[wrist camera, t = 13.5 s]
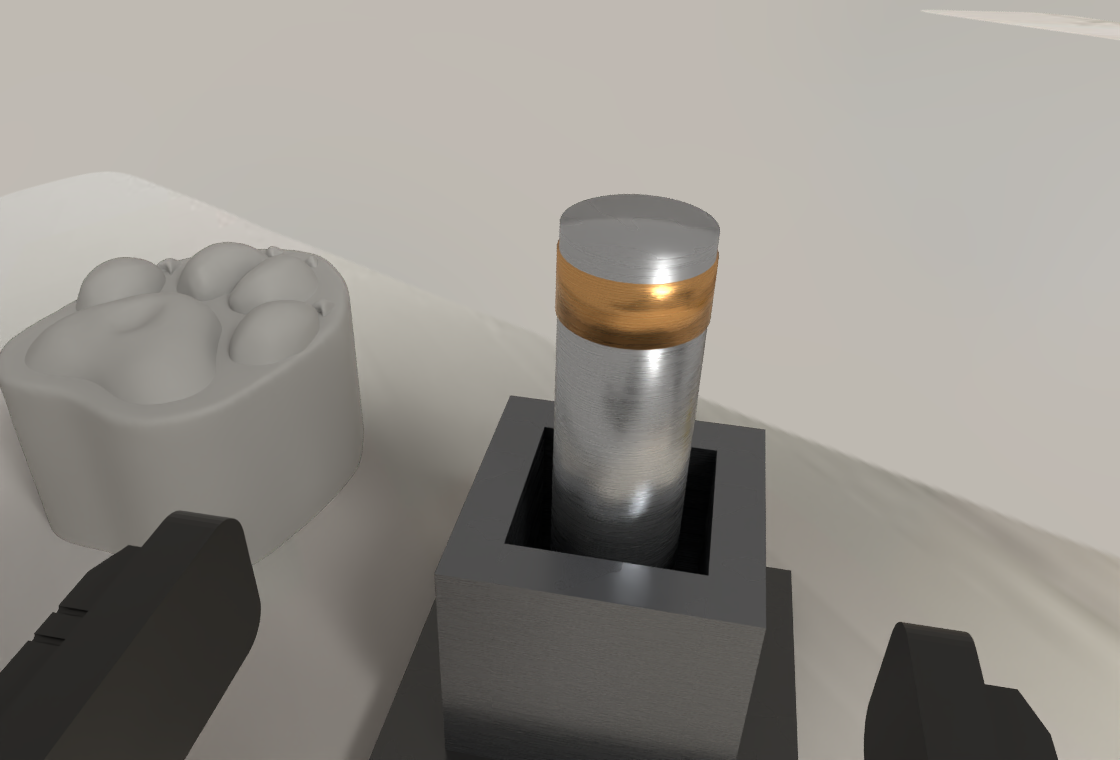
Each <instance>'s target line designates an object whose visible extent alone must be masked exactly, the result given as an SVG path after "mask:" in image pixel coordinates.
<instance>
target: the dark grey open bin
mask: <svg viewBox="0 0 1120 760" xmlns="http://www.w3.org/2000/svg"><path fill="white" fill-rule="evenodd" d="M554 408H555V401H547V400H540V399H532V398H525V397H517V396H510V398H509V400H508V402H507V405H506V407H505V409H504V412H503V414H502V416H501V419H500V421H499V424H498V426H497V428H496V431H495V433H494V435H493V438H492V440H491V442H490V445H489V447H488V449H487V452H486V454H485V456H484V459H483V461H482V463H481V466H480V468H479V470H478V473H477V475H476V478H475V480H474V482H473V485H472V487H471V489H470V492H469V494H468V496H467V499H466V501H465V503H464V506H463V508H462V510H461V513H460V515H459V517H458V520H457V522H456V524H455V527H454V529H453V532H452V534H451V536H450V539H449V541H448V543H447V546H446V548H445V550H444V553H443V555H442V557H441V560H440V562H439V564H438V567H437V569H436V571H435V589H436V599H435V601H434V604H433V606H432V608H431V611H430V613H429V616H428V618H427V621H426V623H425V625H424V628H423V630H422V633H421V635H420V638H419V640H418V642H417V645H416V647H415V650H414V652H413V655H412V657H411V659H410V662H409V664H408V667H407V669H406V672H405V674H404V676H403V679H402V681H401V684H400V686H399V689H398V691H397V693H396V696H395V698H394V701H393V703H392V706H391V708H390V710H389V713H388V715H387V718H386V720H385V723H384V725H383V728H382V730H381V732H380V735H379V737H378V740H377V742H376V745H375V747H374V749H373V752H372V754H371V757H370V759H369V760H798V745H797V719H796V692H795V665H794V639H793V612H792V585H791V571H790V570H783V569H777V568H770V567H766V499H765V430H764V429H756V428H749V427H741V426H734V425H726V424H719V423H711V422H704V421H696V420H695V422H694V430H693V437H692V445H691V452H690V460H689V467H688V475H687V482H686V489H685V497H684V504H683V512H682V519H681V527H680V534H679V542H678V549H677V557H676V564H675V570H669V569H662V568H656V567H650V566H643V565H637V564H631V563H624V562H618V561H612V560H605V559H599V558H593V557H586V556H580V555H574V554H567V553H561V552H555V551H550V547H551V513H552V478H553V443H554Z"/></svg>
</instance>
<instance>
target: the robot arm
mask: <svg viewBox="0 0 1120 760" xmlns="http://www.w3.org/2000/svg"><path fill="white" fill-rule="evenodd" d="M260 614H261V604H260V598H259V594H258V589H257V585H256V581H255V577H254V572H253V568H252V564H251V560H250V556H249V551H248V547H247V543H246V539H245V535H244V531H243V528H242V525H241V524H240V522H239V521H238V520H236V519H234V518H228V517H221V516H215V515H208V514H201V513H195V512H188V511H181V510H179V511H175V512H173V513H171V514H170V515H168V516H167V517H166V518H165V519H164V520H163V522H162V523H161V524H160V525H159V526H158V528H157V529H156V530H155V531H154V532H153V534H152V535H151V536H150V537H149V538H148V540H147V541H146V542H145V543H144V544H143V546H142V547H138V546H132V545H128V546H126V547H125V548H123V549H122V550H120V551H119V552H117V553H116V554H114V555H113V556H111V557H109V558H108V559H106V560H105V561H103V562H102V563H100V564H99V565H97V566H96V567H94V568H93V569H91V570H90V571H88V572H87V574H86V575H85V576H84V577H83V578H82V579H81V580H80V582H79V583H78V584H77V585H76V586H75V587H74V588H73V590H72V591H71V592H70V593H69V594H68V595H67V597H66V598H65V599H64V600H63V601H62V602H61V603H60V605H59V609H58V611H57V613H54V612H53V613H52V614H51V615H50V616H49V617H48V618H47V620H46V621H45V622H44V623H43V624H42V625H41V626H40V628H39V629H38V630H37V631H36V632H35V633H34V634H35V637H34V639H33V640H32V641H27V643H26V644H25V645H24V646H23V647H22V648H21V649H20V651H19V652H18V653H17V654H16V655H15V656H14V657H13V659H12V660H11V661H10V662H9V663H8V664H7V666H6V667H5V668H4V669H3V670H2V671H1V672H0V760H184V759H185V758H186V756H187V754H188V753H189V751H190V749H191V748H192V746H193V744H194V743H195V741H196V740H197V738H198V736H199V735H200V733H201V731H202V730H203V728H204V726H205V725H206V723H207V721H208V720H209V718H210V716H211V715H212V713H213V711H214V710H215V708H216V706H217V705H218V703H219V701H220V700H221V698H222V696H223V695H224V693H225V691H226V690H227V688H228V686H229V685H230V683H231V681H232V680H233V678H234V676H235V675H236V673H237V671H238V670H239V668H240V666H241V665H242V663H243V661H244V660H245V658H246V656H247V655H248V653H249V651H250V649H251V647H252V645H253V643H254V640H255V638H256V635H257V631H258V627H259V622H260ZM864 760H1058V758H1057V754H1056V751H1055V748H1054V744H1053V741H1052V738H1051V734H1050V733H1049V732H1048V730H1047V729H1046V727H1045V726H1044V725H1043V723H1042V722H1041V721H1040V719H1039V718H1038V717H1037V715H1036V714H1035V713H1034V711H1033V710H1032V708H1031V707H1030V706H1029V704H1028V703H1027V702H1026V700H1025V699H1024V698H1023V696H1022V695H1021V693H1020V692H1019V691H1018V689H1011V688H1005V687H999V686H993V685H986V684H984V680H983V676H982V671H981V667H980V663H979V659H978V655H977V651H976V647H975V644H974V641H973V639H972V637H971V636H970V634H969V633H967V632H962V631H956V630H949V629H943V628H936V627H929V626H923V625H916V624H910V623H903V622H898V623H897V624H896V625H895V627H894V629H893V631H892V634H891V637H890V640H889V643H888V646H887V649H886V653H885V656H884V659H883V662H882V665H881V668H880V671H879V674H878V677H877V680H876V683H875V686H874V689H873V692H872V696H871V699H870V702H869V705H868V709H867V715H866V721H865V732H864Z"/></svg>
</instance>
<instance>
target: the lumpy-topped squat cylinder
mask: <svg viewBox="0 0 1120 760" xmlns="http://www.w3.org/2000/svg"><path fill="white" fill-rule="evenodd" d="M0 388H1V390H2V392H3V395H4V398H5V400H6V403H7V406H8V409H9V413H10V416H11V419H12V422H13V425H14V427H15V430H16V433H17V436H18V438H19V441H20V444H21V447H22V449H23V452H24V455H25V457H26V460H27V463H28V465H29V468H30V471H31V474H32V476H33V479H34V482H35V485H36V487H37V490H38V493H39V495H40V498H41V501H42V504H43V506H44V509H45V512H46V514H47V517H48V520H49V523H50V525H51V528H52V530H53V531H54V533H55V534H56V535H57V536H59V537H60V538H62V539H63V540H65V541H68V542H70V543H73V544H77V545H81V546H85V547H89V548H94V549H98V550H102V551H106V552H109V553H112V554H116V553H117V552H119V551H120V550H122V549H123V548H125V547H126V546H128V545H132V546H138V547H142V546H143V544H144V543H145V542H146V541H147V540H148V538H149V537H150V536H151V535H152V534H153V532H154V531H155V530H156V529H157V528H158V526H159V525H160V524H161V523H162V522H163V520H164V519H165V518H166V517H167V516H168V515H170V514H171V513H173V512H175V511H179V510H181V511H188V512H195V513H201V514H208V515H215V516H221V517H228V518H234V519H236V520H238V521H239V522H240V524H241V525H242V528H243V531H244V535H245V539H246V543H247V547H248V551H249V556H250V560H251V564H252V565H254V564H255V563H257V562H259V561H260V560H262V559H263V558H265V557H266V556H268V555H269V554H271V553H272V552H273V551H275V550H276V549H277V548H278V547H280V546H281V545H282V544H283V543H284V542H286V541H287V540H288V539H289V538H290V537H292V536H293V535H294V534H295V533H296V532H298V531H299V530H300V529H301V528H302V527H304V526H305V525H306V524H307V523H308V522H309V521H311V520H312V519H313V518H314V517H315V516H316V515H317V514H318V513H319V512H320V511H321V510H322V509H323V508H324V507H325V506H326V505H327V504H328V503H329V502H330V501H331V500H332V499H333V498H334V497H335V496H336V495H337V494H338V493H339V491H340V490H341V489H342V488H343V487H344V486H345V485H346V483H347V482H348V481H349V480H350V478H351V477H352V476H353V474H354V473H355V471H356V470H357V468H358V465H359V463H360V459H361V454H362V448H363V438H364V428H363V418H362V409H361V399H360V390H359V380H358V371H357V362H356V352H355V343H354V334H353V324H352V315H351V306H350V298H349V292H348V288H347V285H346V283H345V281H344V279H343V277H342V276H341V274H340V273H339V272H338V271H337V269H336V268H335V267H334V266H333V265H332V264H331V263H330V262H328V261H327V260H325V259H324V258H322V257H320V256H318V255H315V254H311V253H306V252H301V251H295V250H284V249H279V248H277V247H275V246H271V247H269V248H268V249H255V248H253V247H251V246H248V245H245V244H241V243H234V242H223V243H216V244H213V245H210V246H208V247H206V248H204V249H202V250H201V251H199V252H198V253H196V254H195V255H194V256H193V257H191V258H186V259H182V260H175V259H170V258H168V259H165V260H163V261H161V262H159V263H158V264H157V266H156V265H155V264H153V263H151V262H149V261H147V260H143V259H138V258H131V257H121V258H115V259H111V260H108V261H106V262H104V263H102V264H100V265H98V266H97V267H96V268H94V269H93V270H92V271H91V272H90V273H89V274H88V275H87V277H86V278H85V279H84V281H83V283H82V285H81V288H80V292H79V295H78V299H77V300H76V301H74V302H72V303H70V304H68V305H66V306H64V307H63V308H61V309H60V310H58V311H56V312H55V313H53V314H51V315H49V316H47V317H45V318H43V319H41V320H40V321H38V322H37V323H35V324H33V325H32V326H30V327H28V328H26V329H25V330H24V331H22V332H21V333H19V334H18V335H17V336H15V337H14V338H12V339H11V340H10V341H9V342H8V343H7V344H6V345H5V346H4V348H3V349H2V351H1V353H0Z"/></svg>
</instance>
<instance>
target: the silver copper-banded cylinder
mask: <svg viewBox="0 0 1120 760" xmlns="http://www.w3.org/2000/svg"><path fill="white" fill-rule="evenodd" d="M719 235H720V227H719V225H718V223H717V222H716V220H715V219H714V218H713V217H712V216H711V215H709V214H708V213H707V212H705V211H703V210H701V209H700V208H697V207H695V206H693V205H690V204H688V203H685V202H681V201H678V200H674V199H670V198H665V197H659V196H651V195H639V194H619V195H608V196H601V197H596V198H591V199H587V200H584V201H582V202H579V203H577V204H574V205H572V206H571V207H569V208H568V209H567V210H566V211H565V212H564V213H563V214H562V216H561V219H560V235H559V240H558V243H557V265H556V267H557V268H556V301H555V304H556V305H555V309H556V310H555V311H556V315H557V339H556V374H555V408H554V443H553V478H552V513H551V547H550V551H555V552H561V553H567V554H574V555H580V556H586V557H593V558H599V559H605V560H612V561H618V562H624V563H631V564H637V565H643V566H650V567H656V568H662V569H669V570H675V564H676V557H677V549H678V542H679V534H680V527H681V519H682V512H683V504H684V497H685V489H686V482H687V475H688V467H689V460H690V452H691V445H692V437H693V430H694V422H695V415H696V407H697V400H698V392H699V385H700V377H701V370H702V362H703V355H704V347H705V340H706V332H707V327H708V325H709V323H710V319H711V311H712V303H713V296H714V289H715V281H716V274H717V267H718V259H719V252H718V243H719Z"/></svg>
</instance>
